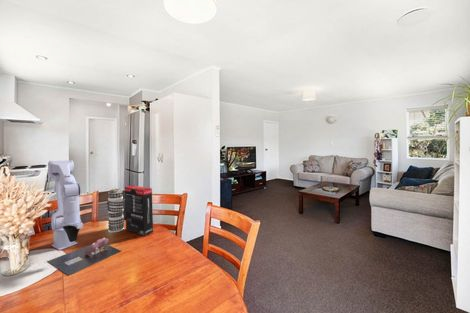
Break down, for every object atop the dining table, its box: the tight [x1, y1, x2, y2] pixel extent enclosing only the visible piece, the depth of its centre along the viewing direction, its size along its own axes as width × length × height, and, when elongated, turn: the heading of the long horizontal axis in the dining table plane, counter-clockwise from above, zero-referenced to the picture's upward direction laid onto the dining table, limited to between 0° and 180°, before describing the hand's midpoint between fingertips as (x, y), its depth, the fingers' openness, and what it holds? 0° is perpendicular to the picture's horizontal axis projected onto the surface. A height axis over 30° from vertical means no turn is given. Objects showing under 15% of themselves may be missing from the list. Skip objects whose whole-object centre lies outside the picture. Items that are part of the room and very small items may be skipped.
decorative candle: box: [106, 188, 125, 234], centre depth 127 cm, size 9×9×25 cm
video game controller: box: [85, 237, 110, 255], centre depth 102 cm, size 10×5×7 cm, turn 168°
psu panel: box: [47, 243, 122, 276], centre depth 98 cm, size 20×22×1 cm
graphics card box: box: [124, 184, 154, 237], centre depth 124 cm, size 17×7×27 cm, turn 63°
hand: (72, 240), depth 93 cm, fingers closed
